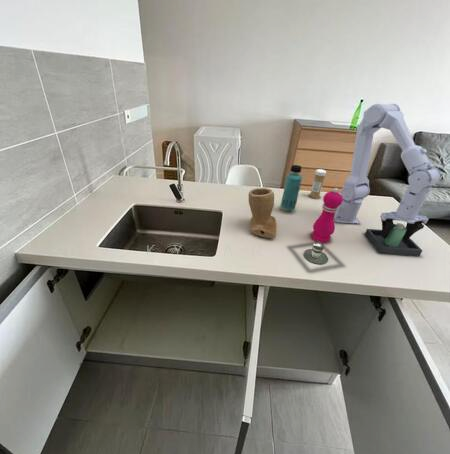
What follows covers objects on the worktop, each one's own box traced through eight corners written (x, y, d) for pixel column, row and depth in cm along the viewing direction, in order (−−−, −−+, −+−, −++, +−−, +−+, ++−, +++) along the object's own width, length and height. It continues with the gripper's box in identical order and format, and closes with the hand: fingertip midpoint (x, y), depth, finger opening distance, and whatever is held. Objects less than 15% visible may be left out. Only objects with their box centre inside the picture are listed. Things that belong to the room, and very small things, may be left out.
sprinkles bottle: (321, 197, 120) (328, 171, 112) (315, 199, 117) (322, 172, 110) (313, 193, 123) (320, 168, 116) (307, 195, 120) (314, 169, 113)
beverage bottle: (278, 211, 105) (286, 166, 95) (281, 205, 110) (289, 162, 100) (293, 215, 103) (304, 169, 93) (295, 208, 108) (305, 164, 98)
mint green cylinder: (388, 246, 86) (397, 228, 82) (382, 239, 90) (390, 221, 86) (400, 247, 86) (410, 228, 82) (394, 240, 90) (403, 222, 85)
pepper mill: (306, 234, 91) (320, 185, 80) (321, 230, 94) (336, 182, 83) (319, 245, 85) (336, 194, 75) (335, 241, 88) (353, 191, 77)
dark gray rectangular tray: (379, 253, 83) (382, 247, 82) (364, 234, 93) (366, 228, 92) (419, 256, 83) (422, 250, 82) (400, 236, 93) (403, 231, 92)
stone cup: (247, 215, 100) (250, 182, 93) (276, 219, 99) (282, 185, 91) (242, 236, 88) (246, 199, 80) (275, 241, 86) (282, 204, 78)
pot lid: (341, 265, 77) (346, 253, 74) (309, 271, 74) (313, 259, 71) (319, 243, 87) (323, 231, 84) (289, 247, 83) (292, 235, 81)
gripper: (395, 208, 76) (378, 243, 83) (442, 211, 76) (421, 246, 83) (384, 198, 82) (369, 231, 89) (427, 201, 82) (409, 234, 89)
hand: (393, 237), depth 87 cm, fingers open, 7 cm apart
